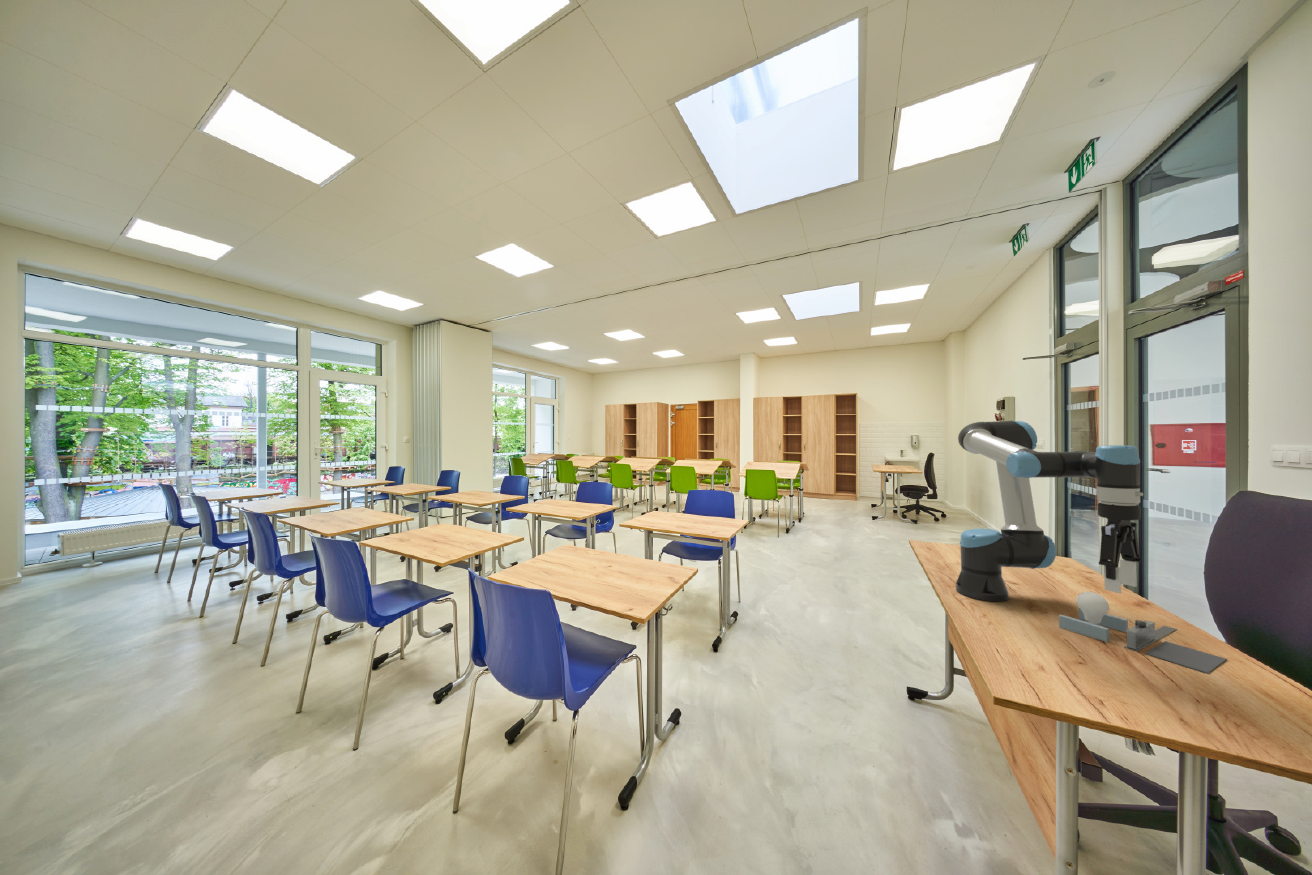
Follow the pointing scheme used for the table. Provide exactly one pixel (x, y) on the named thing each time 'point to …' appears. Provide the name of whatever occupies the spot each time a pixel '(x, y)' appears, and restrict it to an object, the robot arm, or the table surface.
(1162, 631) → the track
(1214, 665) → the mat
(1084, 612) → the light bulb
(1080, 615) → the channel
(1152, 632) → the latch bar
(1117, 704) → the table surface
